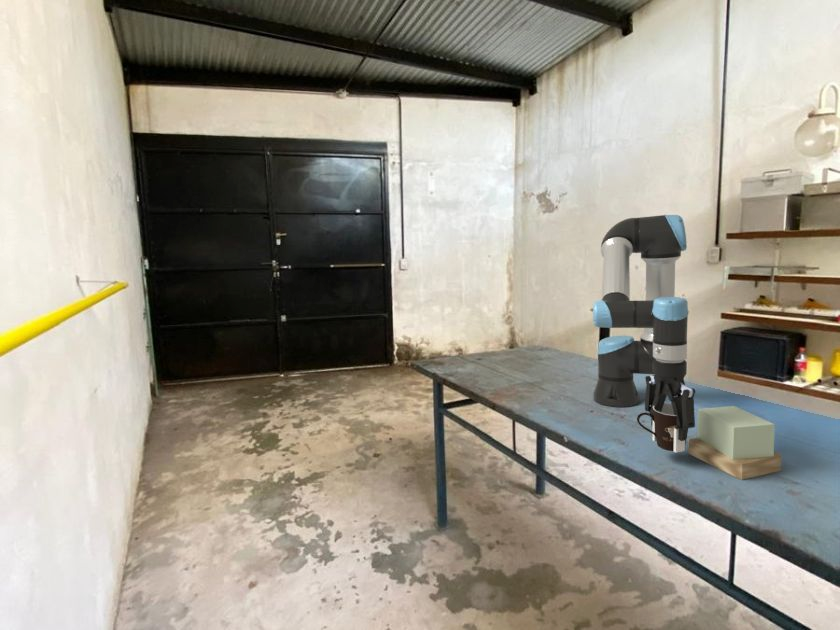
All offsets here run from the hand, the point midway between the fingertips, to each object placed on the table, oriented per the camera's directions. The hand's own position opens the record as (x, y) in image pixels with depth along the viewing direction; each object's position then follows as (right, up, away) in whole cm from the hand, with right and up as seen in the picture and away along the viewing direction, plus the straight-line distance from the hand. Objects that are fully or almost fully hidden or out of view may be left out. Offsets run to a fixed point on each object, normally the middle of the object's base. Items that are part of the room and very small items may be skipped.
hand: (668, 445), depth 116 cm
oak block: (+15, -4, -2) cm, 16 cm away
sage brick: (+15, 0, -3) cm, 15 cm away
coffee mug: (0, 0, +1) cm, 1 cm away
